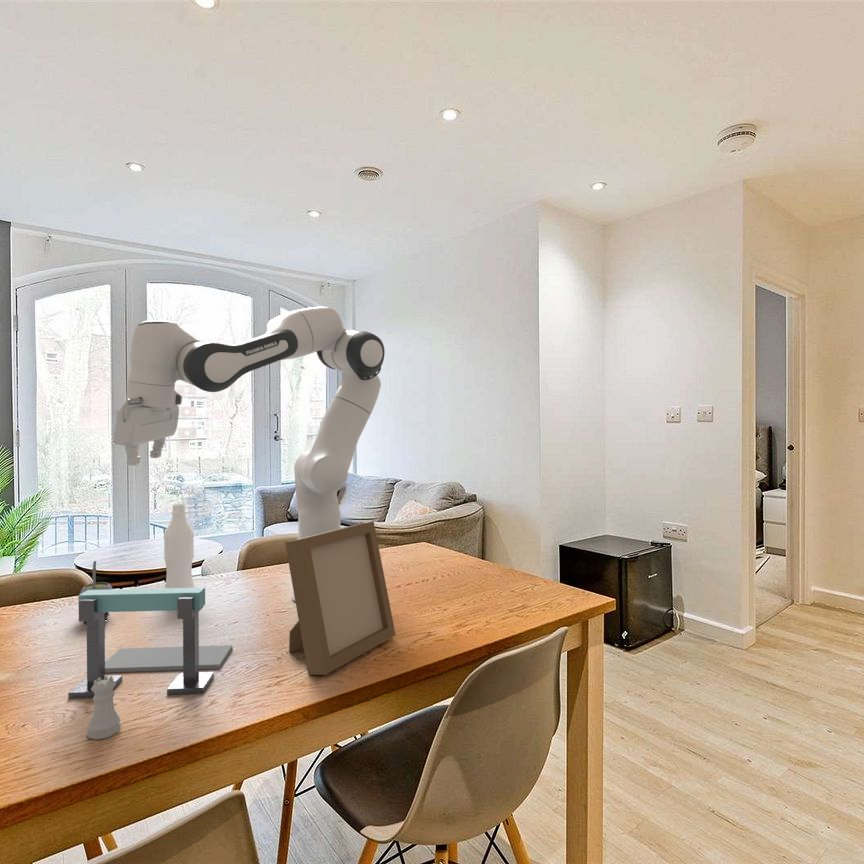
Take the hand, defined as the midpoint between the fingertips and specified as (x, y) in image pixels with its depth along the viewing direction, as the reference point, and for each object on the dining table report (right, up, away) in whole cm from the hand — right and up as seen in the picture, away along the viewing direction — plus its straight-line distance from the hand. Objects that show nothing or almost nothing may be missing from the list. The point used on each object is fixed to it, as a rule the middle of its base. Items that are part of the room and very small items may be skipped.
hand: (144, 461), depth 118 cm
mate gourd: (-17, -38, +12) cm, 44 cm away
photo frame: (+41, -39, -4) cm, 57 cm away
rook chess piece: (+12, -39, -34) cm, 54 cm away
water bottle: (-5, -38, +26) cm, 46 cm away
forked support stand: (+11, -39, -21) cm, 45 cm away
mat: (+10, -38, -10) cm, 41 cm away
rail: (+11, -25, -21) cm, 34 cm away
